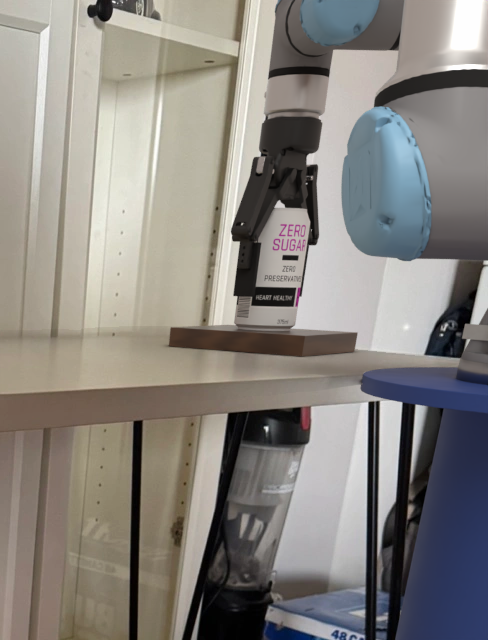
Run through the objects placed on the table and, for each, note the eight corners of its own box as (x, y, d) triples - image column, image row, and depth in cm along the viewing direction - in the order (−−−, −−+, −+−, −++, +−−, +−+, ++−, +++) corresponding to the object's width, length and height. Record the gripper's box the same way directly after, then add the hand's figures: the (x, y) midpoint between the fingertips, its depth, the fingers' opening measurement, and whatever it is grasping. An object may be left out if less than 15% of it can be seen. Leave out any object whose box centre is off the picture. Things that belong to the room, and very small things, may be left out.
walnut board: (354, 351, 142) (357, 332, 141) (301, 356, 132) (305, 335, 131) (226, 342, 155) (228, 324, 154) (168, 346, 144) (170, 327, 143)
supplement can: (251, 327, 148) (266, 211, 142) (304, 330, 142) (323, 210, 136) (222, 328, 142) (236, 208, 136) (276, 332, 137) (294, 207, 131)
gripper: (309, 130, 143) (285, 295, 151) (217, 108, 126) (196, 295, 135) (361, 126, 138) (334, 297, 147) (273, 103, 121) (248, 297, 130)
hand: (268, 296), depth 141 cm, fingers open, 13 cm apart
